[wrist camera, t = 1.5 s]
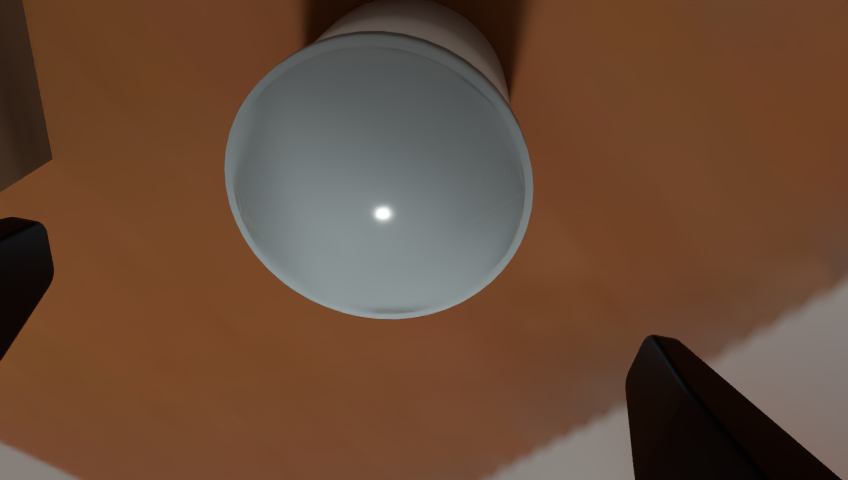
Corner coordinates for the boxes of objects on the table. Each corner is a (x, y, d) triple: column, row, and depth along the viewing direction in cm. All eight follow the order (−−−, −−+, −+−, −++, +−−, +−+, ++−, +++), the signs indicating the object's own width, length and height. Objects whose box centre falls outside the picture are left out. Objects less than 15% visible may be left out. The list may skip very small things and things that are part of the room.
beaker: (538, 15, 16) (573, 74, 10) (485, 218, 19) (492, 340, 14) (305, -31, 15) (223, 6, 10) (292, 182, 19) (225, 292, 13)
